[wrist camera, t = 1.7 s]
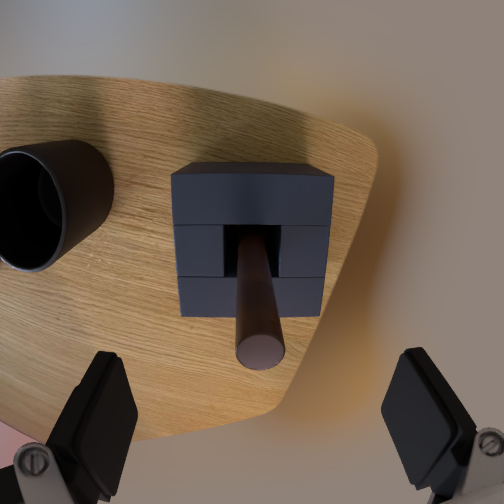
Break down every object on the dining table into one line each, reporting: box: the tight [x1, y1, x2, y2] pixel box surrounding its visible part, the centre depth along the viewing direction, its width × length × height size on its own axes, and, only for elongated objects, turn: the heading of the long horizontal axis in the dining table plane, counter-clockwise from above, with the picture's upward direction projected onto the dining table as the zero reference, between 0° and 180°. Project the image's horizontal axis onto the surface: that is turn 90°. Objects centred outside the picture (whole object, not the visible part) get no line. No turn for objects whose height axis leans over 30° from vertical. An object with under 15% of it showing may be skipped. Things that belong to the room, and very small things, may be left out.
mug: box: [0, 139, 114, 272], centre depth 22 cm, size 9×12×9 cm
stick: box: [235, 224, 285, 370], centre depth 19 cm, size 2×2×18 cm
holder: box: [171, 162, 334, 318], centre depth 24 cm, size 10×10×8 cm
